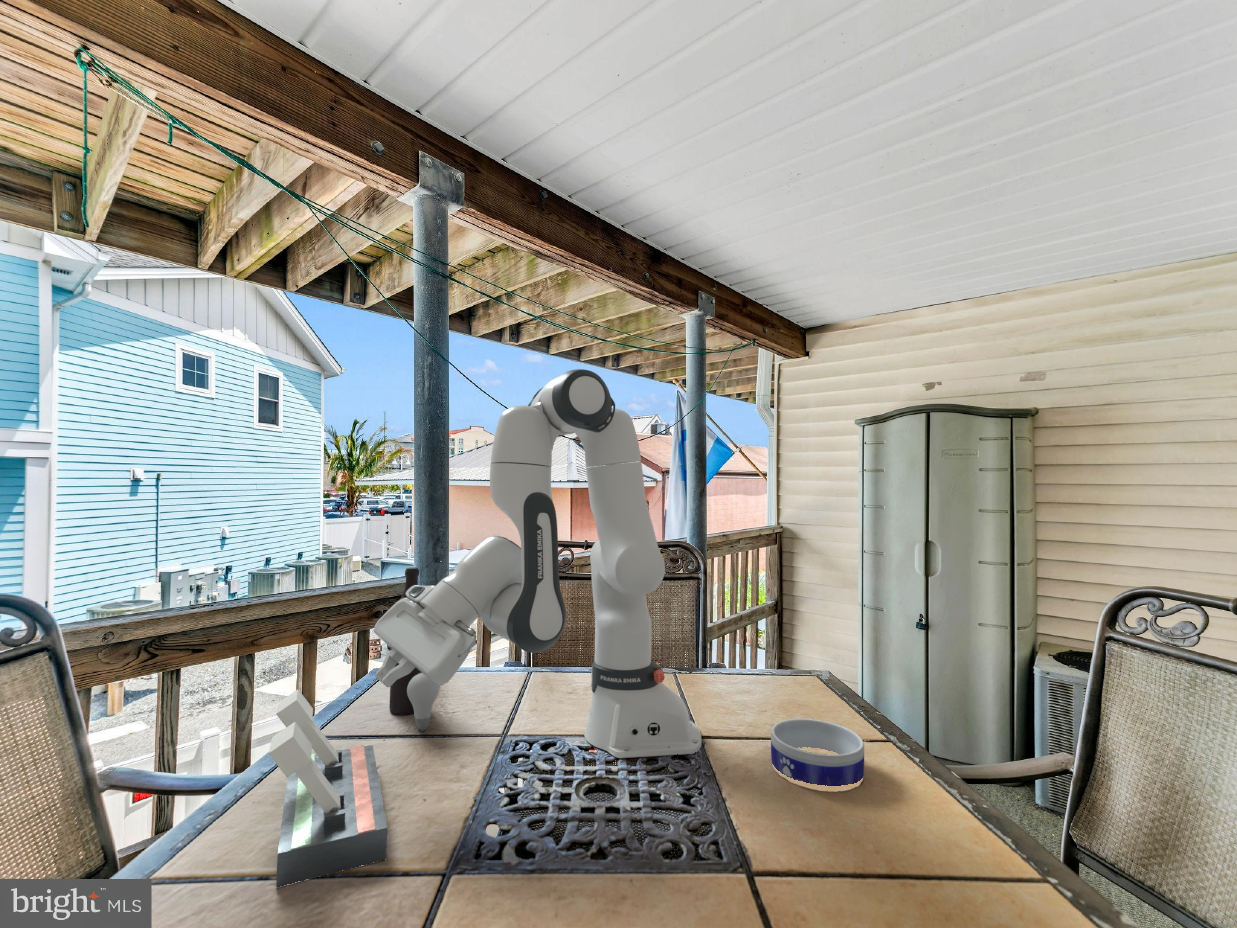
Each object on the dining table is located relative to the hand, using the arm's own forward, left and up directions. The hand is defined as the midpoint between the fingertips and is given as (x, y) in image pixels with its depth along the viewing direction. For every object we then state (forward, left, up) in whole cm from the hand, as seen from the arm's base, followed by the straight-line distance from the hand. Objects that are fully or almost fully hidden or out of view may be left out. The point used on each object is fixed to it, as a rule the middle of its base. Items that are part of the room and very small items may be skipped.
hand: (380, 681), depth 87 cm
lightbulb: (+2, -24, -17) cm, 30 cm away
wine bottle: (+9, -34, -17) cm, 39 cm away
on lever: (0, +12, -12) cm, 17 cm away
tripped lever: (+7, 0, -12) cm, 14 cm away
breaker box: (+4, +6, -17) cm, 19 cm away
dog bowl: (-71, -13, -18) cm, 74 cm away
